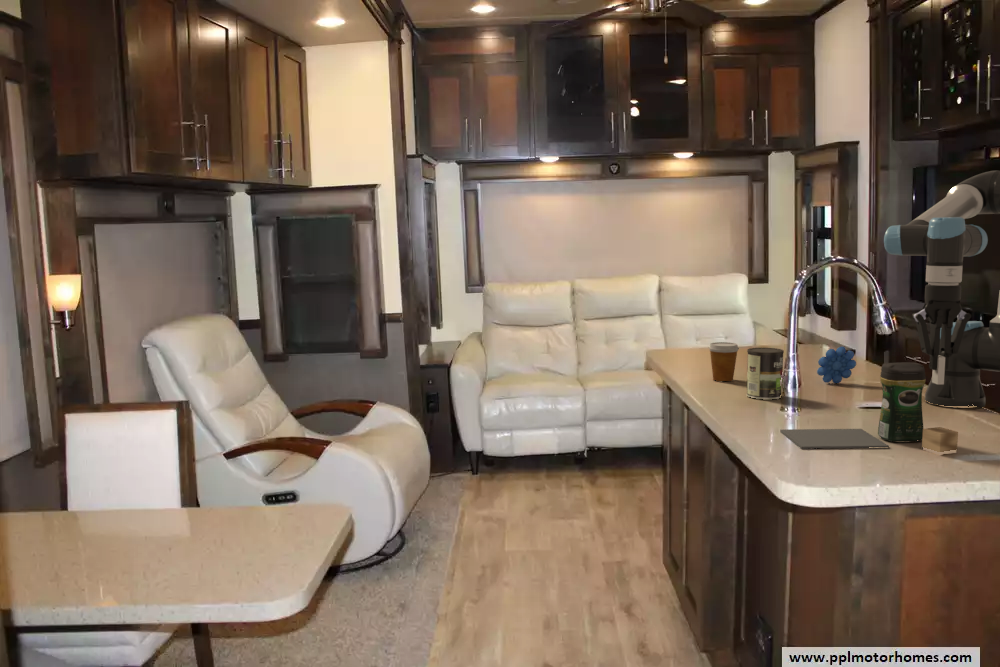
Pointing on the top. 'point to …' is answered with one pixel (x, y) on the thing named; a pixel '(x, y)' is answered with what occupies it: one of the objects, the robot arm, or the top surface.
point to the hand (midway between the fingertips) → (937, 383)
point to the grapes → (836, 365)
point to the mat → (832, 438)
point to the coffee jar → (901, 401)
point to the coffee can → (764, 373)
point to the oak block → (939, 439)
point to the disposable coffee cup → (723, 360)
